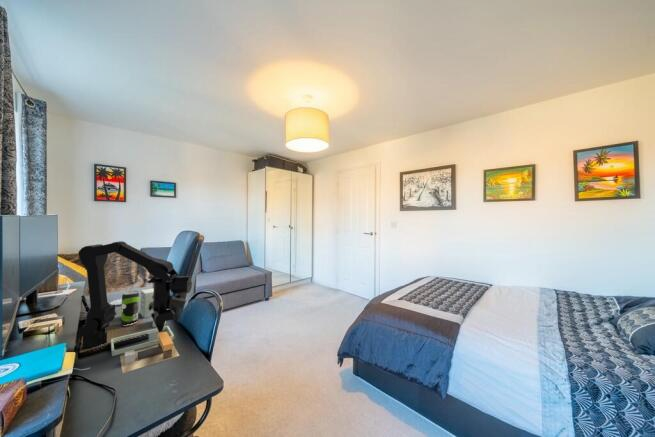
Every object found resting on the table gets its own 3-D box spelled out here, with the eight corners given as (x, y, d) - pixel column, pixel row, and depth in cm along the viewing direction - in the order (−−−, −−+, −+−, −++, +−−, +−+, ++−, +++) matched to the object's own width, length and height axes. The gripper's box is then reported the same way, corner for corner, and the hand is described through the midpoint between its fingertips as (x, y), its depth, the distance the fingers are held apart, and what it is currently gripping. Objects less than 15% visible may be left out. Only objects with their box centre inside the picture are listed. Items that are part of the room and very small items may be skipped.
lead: (124, 365, 82) (125, 356, 82) (124, 360, 84) (124, 352, 84) (172, 351, 92) (172, 343, 92) (170, 347, 94) (170, 339, 94)
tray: (111, 358, 87) (112, 351, 87) (110, 345, 96) (110, 338, 96) (174, 341, 100) (174, 335, 100) (167, 331, 109) (168, 325, 109)
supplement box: (156, 310, 132) (157, 287, 132) (160, 314, 127) (161, 290, 127) (139, 314, 126) (140, 290, 126) (143, 318, 121) (144, 293, 121)
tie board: (122, 376, 78) (122, 365, 78) (119, 358, 87) (120, 348, 87) (179, 358, 89) (179, 348, 89) (171, 344, 98) (172, 335, 98)
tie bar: (163, 351, 86) (163, 345, 86) (157, 338, 95) (157, 333, 95) (173, 348, 88) (173, 343, 88) (166, 336, 97) (166, 331, 97)
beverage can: (136, 320, 119) (137, 289, 119) (138, 324, 115) (140, 292, 115) (119, 323, 114) (121, 292, 114) (121, 328, 110) (123, 295, 110)
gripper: (190, 295, 97) (188, 334, 97) (179, 285, 111) (177, 319, 111) (157, 300, 90) (155, 343, 90) (149, 289, 103) (147, 325, 103)
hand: (160, 331), depth 98 cm, fingers closed
